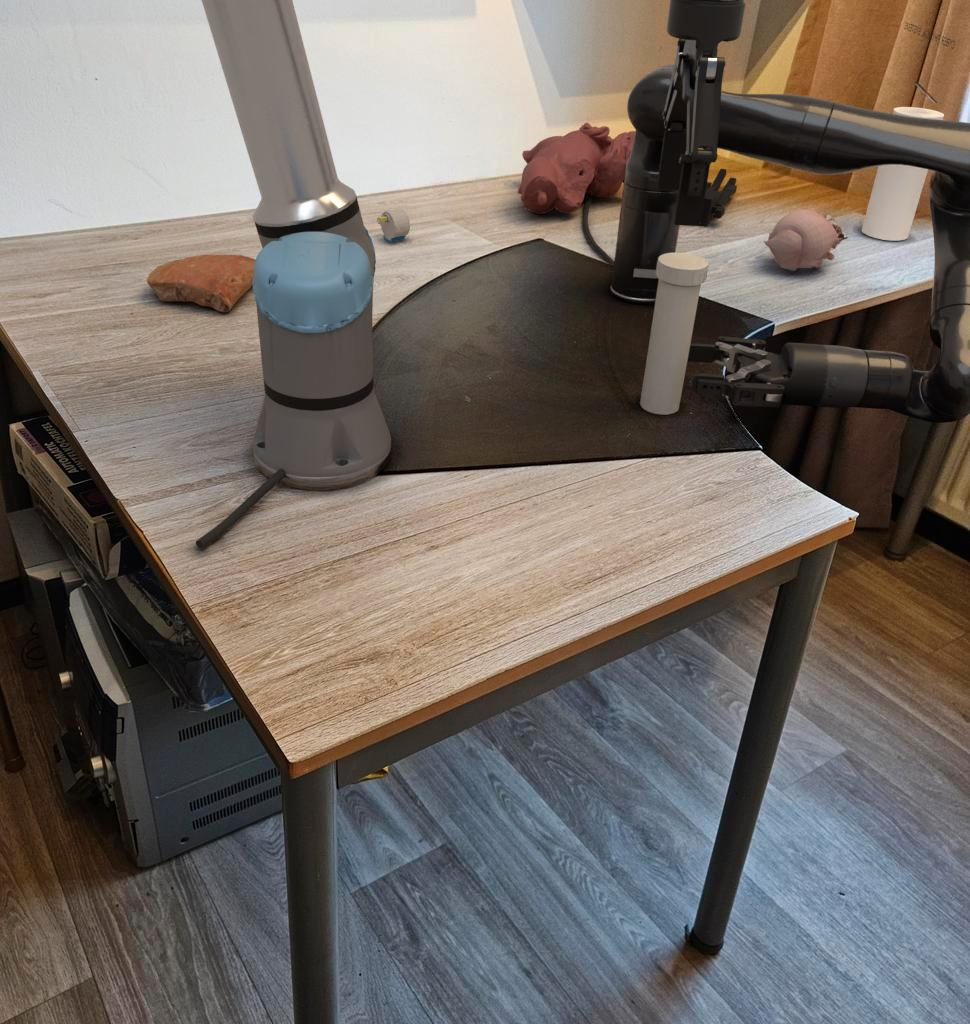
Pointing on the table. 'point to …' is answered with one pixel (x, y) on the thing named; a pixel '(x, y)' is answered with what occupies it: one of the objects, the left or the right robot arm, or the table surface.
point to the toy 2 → (804, 239)
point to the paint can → (898, 184)
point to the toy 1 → (717, 197)
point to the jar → (669, 347)
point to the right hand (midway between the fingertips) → (687, 366)
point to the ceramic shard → (204, 280)
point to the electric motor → (394, 225)
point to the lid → (682, 269)
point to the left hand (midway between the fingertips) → (677, 206)
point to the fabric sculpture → (574, 168)
